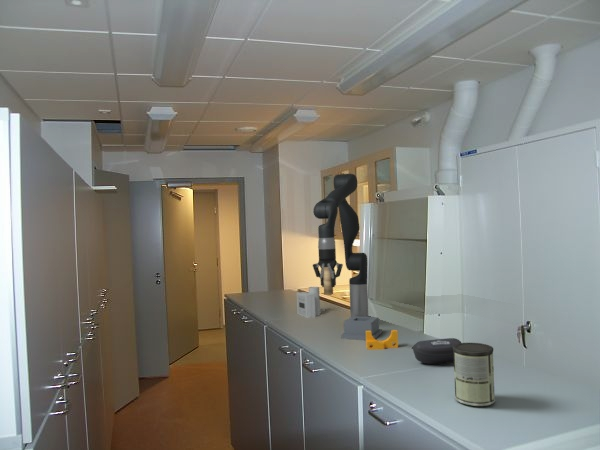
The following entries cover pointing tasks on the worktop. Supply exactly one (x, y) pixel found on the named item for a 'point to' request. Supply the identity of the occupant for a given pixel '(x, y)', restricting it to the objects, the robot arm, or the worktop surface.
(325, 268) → the oak peg
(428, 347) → the glasses case
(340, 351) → the worktop surface
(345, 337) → the socket block
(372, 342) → the pipe clamp
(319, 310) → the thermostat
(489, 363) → the coffee can
